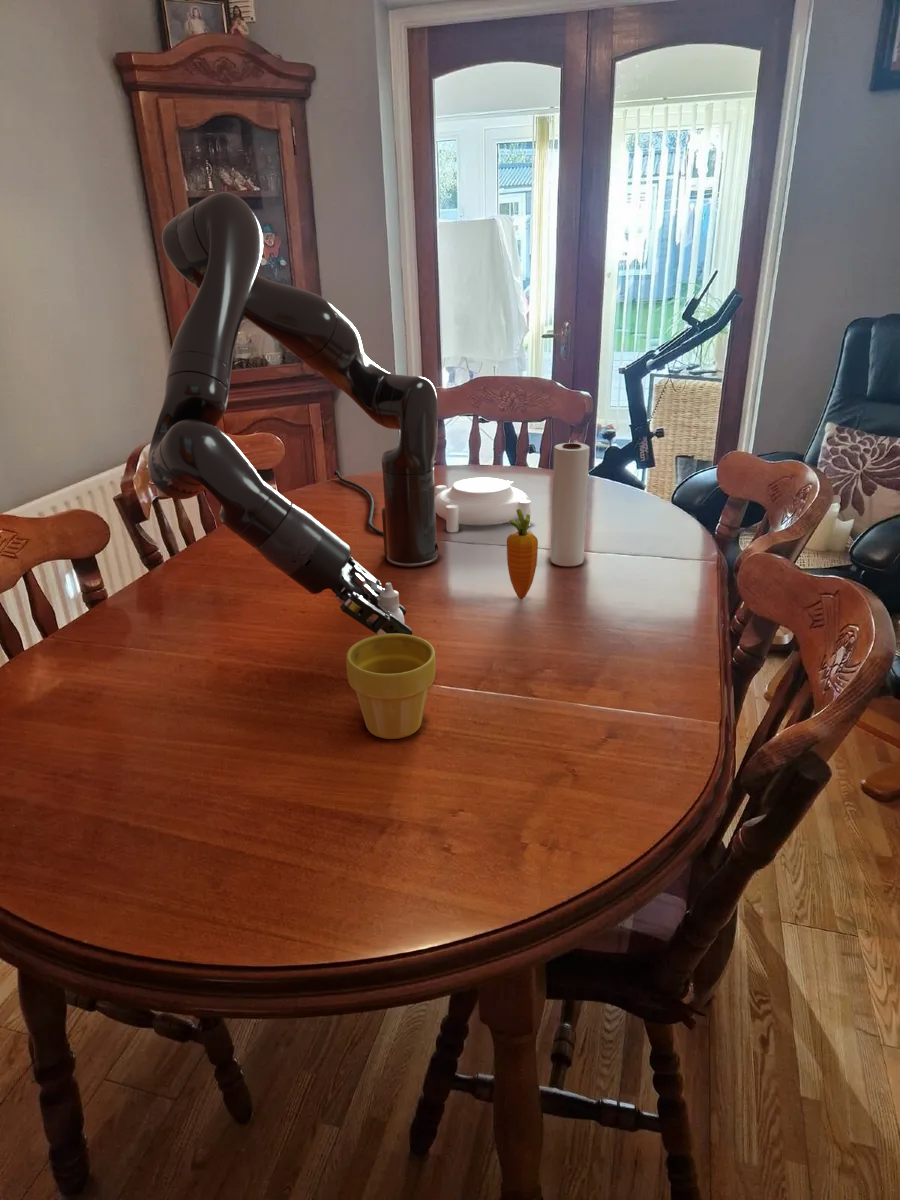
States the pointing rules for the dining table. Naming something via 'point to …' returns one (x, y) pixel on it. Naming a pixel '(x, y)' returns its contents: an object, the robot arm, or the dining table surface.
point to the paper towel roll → (569, 503)
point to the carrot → (521, 555)
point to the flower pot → (391, 682)
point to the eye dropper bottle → (391, 603)
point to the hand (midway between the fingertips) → (404, 626)
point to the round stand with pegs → (480, 502)
